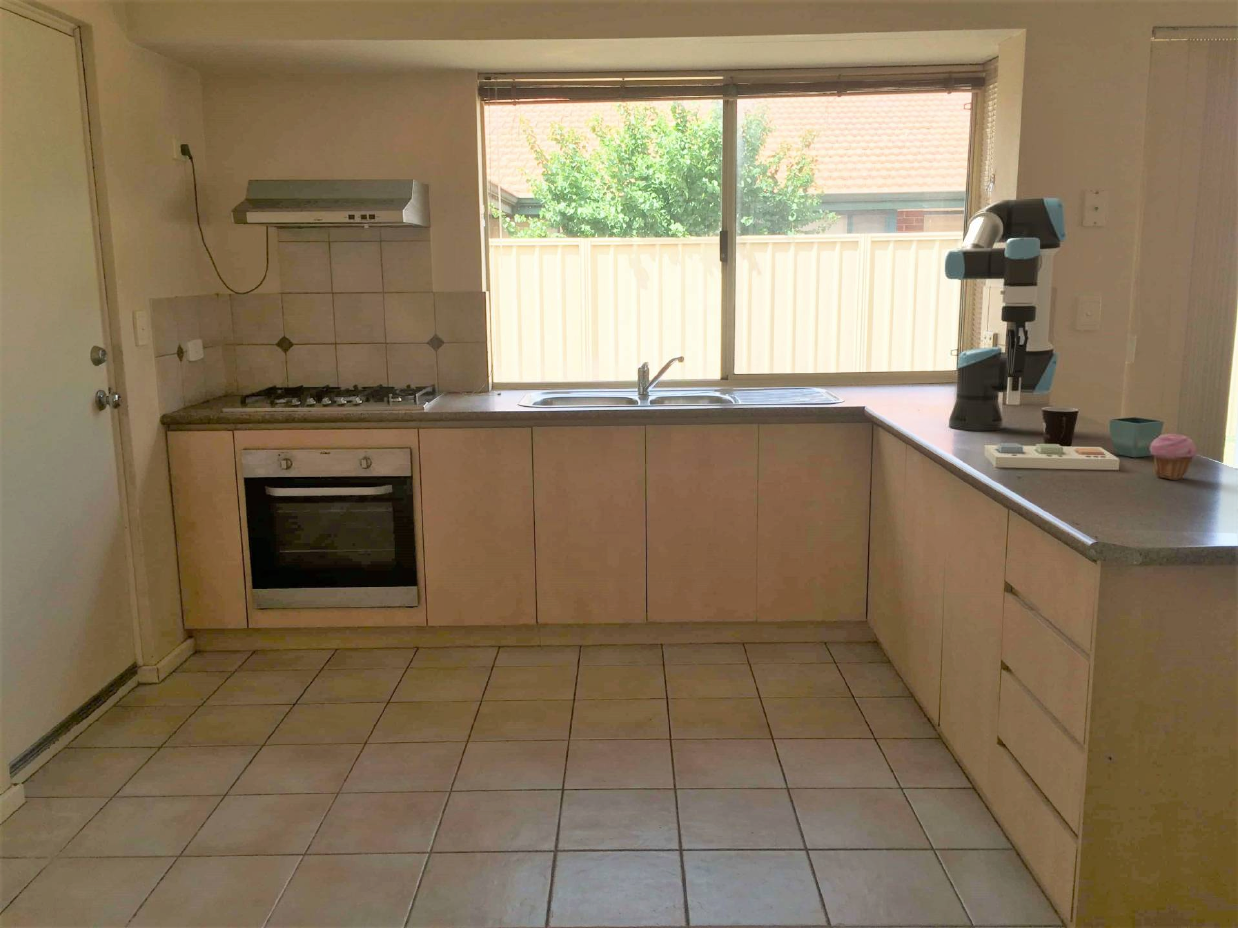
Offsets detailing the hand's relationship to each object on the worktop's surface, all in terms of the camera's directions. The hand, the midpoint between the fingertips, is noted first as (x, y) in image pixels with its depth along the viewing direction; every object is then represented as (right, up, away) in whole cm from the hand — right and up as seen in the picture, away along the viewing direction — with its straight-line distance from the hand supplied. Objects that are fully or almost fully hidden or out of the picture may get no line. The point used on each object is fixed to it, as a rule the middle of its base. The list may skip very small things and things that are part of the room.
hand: (1012, 404), depth 236 cm
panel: (+9, -14, +1) cm, 17 cm away
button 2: (+9, -13, +1) cm, 16 cm away
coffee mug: (+19, -11, +19) cm, 29 cm away
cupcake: (+27, -18, -19) cm, 38 cm away
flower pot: (+33, -13, +7) cm, 36 cm away
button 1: (0, -13, +3) cm, 13 cm away
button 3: (+18, -14, -1) cm, 23 cm away
